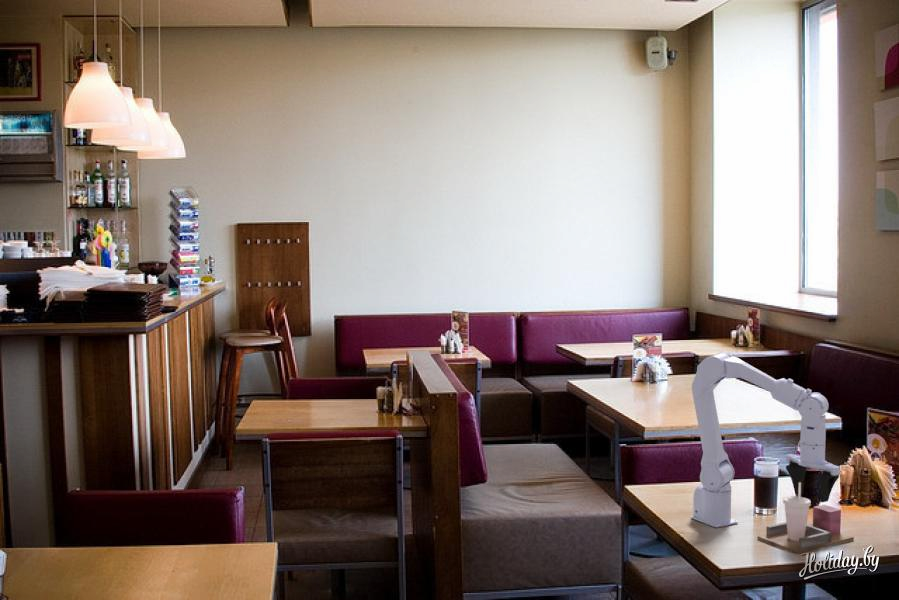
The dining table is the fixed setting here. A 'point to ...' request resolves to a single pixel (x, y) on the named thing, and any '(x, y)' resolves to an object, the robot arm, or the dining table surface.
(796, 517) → the smoothie
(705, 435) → the robot arm
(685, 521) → the dining table surface
